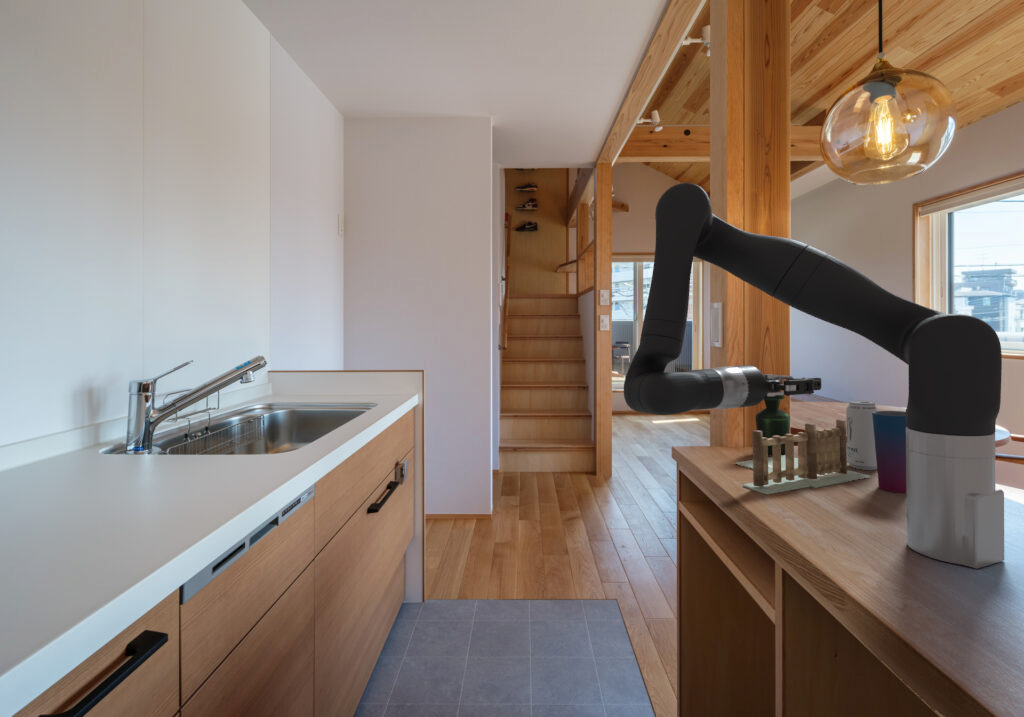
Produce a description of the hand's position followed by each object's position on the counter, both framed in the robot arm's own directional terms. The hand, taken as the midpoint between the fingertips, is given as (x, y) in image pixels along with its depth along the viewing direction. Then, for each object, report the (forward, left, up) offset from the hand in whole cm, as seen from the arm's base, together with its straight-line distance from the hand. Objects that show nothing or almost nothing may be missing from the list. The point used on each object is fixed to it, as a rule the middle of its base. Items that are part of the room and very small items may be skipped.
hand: (799, 381), depth 92 cm
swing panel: (+7, -2, -21) cm, 22 cm away
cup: (-4, -19, -22) cm, 30 cm away
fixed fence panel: (+7, -15, -22) cm, 28 cm away
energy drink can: (+9, -29, -22) cm, 38 cm away
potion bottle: (+28, -23, -22) cm, 42 cm away
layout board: (+13, -9, -22) cm, 27 cm away
